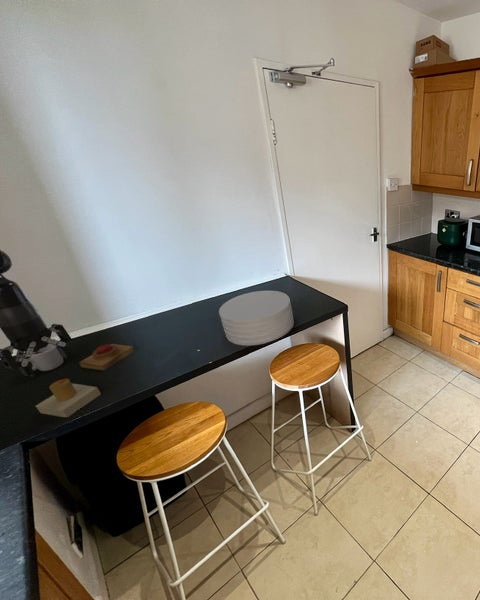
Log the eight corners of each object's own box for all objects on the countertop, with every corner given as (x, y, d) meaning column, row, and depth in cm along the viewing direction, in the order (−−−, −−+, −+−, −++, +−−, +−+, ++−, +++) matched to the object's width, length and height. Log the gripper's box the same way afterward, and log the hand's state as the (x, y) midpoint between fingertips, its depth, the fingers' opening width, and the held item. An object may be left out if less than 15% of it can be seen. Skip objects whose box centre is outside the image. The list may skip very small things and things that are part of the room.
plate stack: (306, 323, 141) (303, 301, 136) (248, 354, 121) (241, 329, 116) (271, 306, 156) (266, 285, 151) (213, 330, 136) (206, 307, 131)
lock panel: (67, 417, 93) (61, 410, 92) (40, 413, 95) (35, 405, 94) (101, 394, 102) (96, 386, 101) (76, 390, 104) (71, 382, 102)
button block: (104, 370, 113) (99, 361, 111) (81, 367, 114) (76, 358, 112) (134, 350, 123) (131, 342, 121) (113, 348, 125) (109, 339, 123)
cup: (39, 380, 108) (26, 361, 104) (20, 377, 109) (7, 359, 106) (73, 360, 118) (62, 343, 114) (55, 358, 119) (44, 341, 115)
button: (104, 354, 115) (102, 351, 114) (95, 353, 116) (93, 349, 115) (114, 348, 119) (113, 344, 118) (106, 347, 119) (104, 343, 118)
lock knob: (65, 402, 95) (56, 388, 92) (53, 400, 96) (44, 387, 93) (80, 392, 99) (72, 379, 96) (69, 390, 99) (61, 377, 97)
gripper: (39, 304, 91) (66, 350, 98) (-29, 331, 79) (8, 380, 86) (59, 307, 90) (85, 352, 97) (-6, 334, 77) (30, 384, 85)
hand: (49, 365), depth 92 cm, fingers open, 8 cm apart
